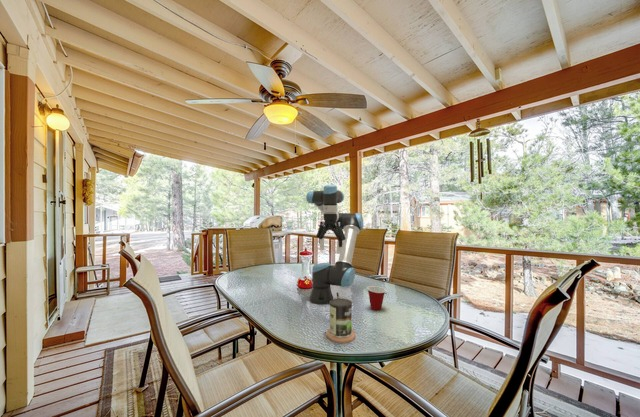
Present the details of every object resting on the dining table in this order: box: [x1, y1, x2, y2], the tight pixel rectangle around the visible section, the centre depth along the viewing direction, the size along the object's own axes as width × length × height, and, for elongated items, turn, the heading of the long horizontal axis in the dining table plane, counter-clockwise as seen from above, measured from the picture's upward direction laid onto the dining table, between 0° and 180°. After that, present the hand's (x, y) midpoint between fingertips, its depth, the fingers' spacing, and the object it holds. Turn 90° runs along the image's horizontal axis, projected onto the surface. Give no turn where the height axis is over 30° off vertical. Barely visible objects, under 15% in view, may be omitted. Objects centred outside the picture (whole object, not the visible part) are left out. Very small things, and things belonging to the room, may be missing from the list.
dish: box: [326, 328, 356, 344], centre depth 120 cm, size 13×13×2 cm
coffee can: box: [328, 297, 353, 338], centre depth 120 cm, size 10×10×14 cm
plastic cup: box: [366, 285, 387, 312], centre depth 152 cm, size 11×11×12 cm
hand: (330, 251), depth 144 cm, fingers open, 13 cm apart
